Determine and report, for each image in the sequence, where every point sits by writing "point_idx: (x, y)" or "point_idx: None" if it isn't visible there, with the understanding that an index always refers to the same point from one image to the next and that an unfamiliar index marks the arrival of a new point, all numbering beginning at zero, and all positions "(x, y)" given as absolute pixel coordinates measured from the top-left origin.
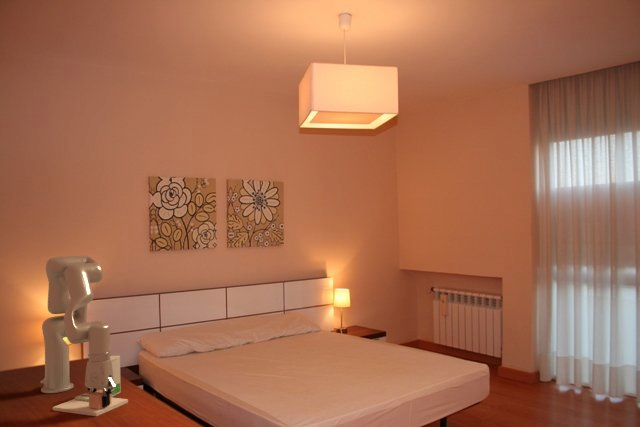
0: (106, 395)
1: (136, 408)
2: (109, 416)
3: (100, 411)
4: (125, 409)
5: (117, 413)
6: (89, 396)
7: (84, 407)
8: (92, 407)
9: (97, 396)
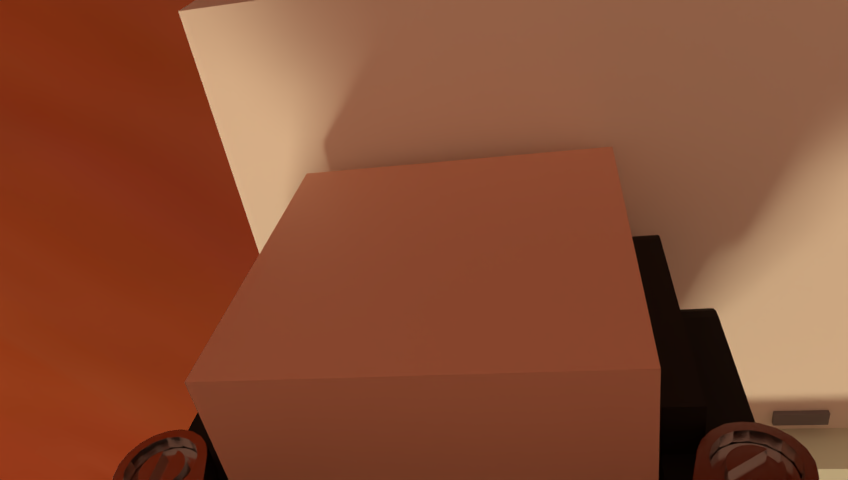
0: (139, 468)
1: (61, 450)
2: (4, 98)
3: (221, 123)
4: (141, 390)
5: (56, 245)
6: (620, 315)
7: (800, 150)
8: (501, 162)
9: (259, 349)
